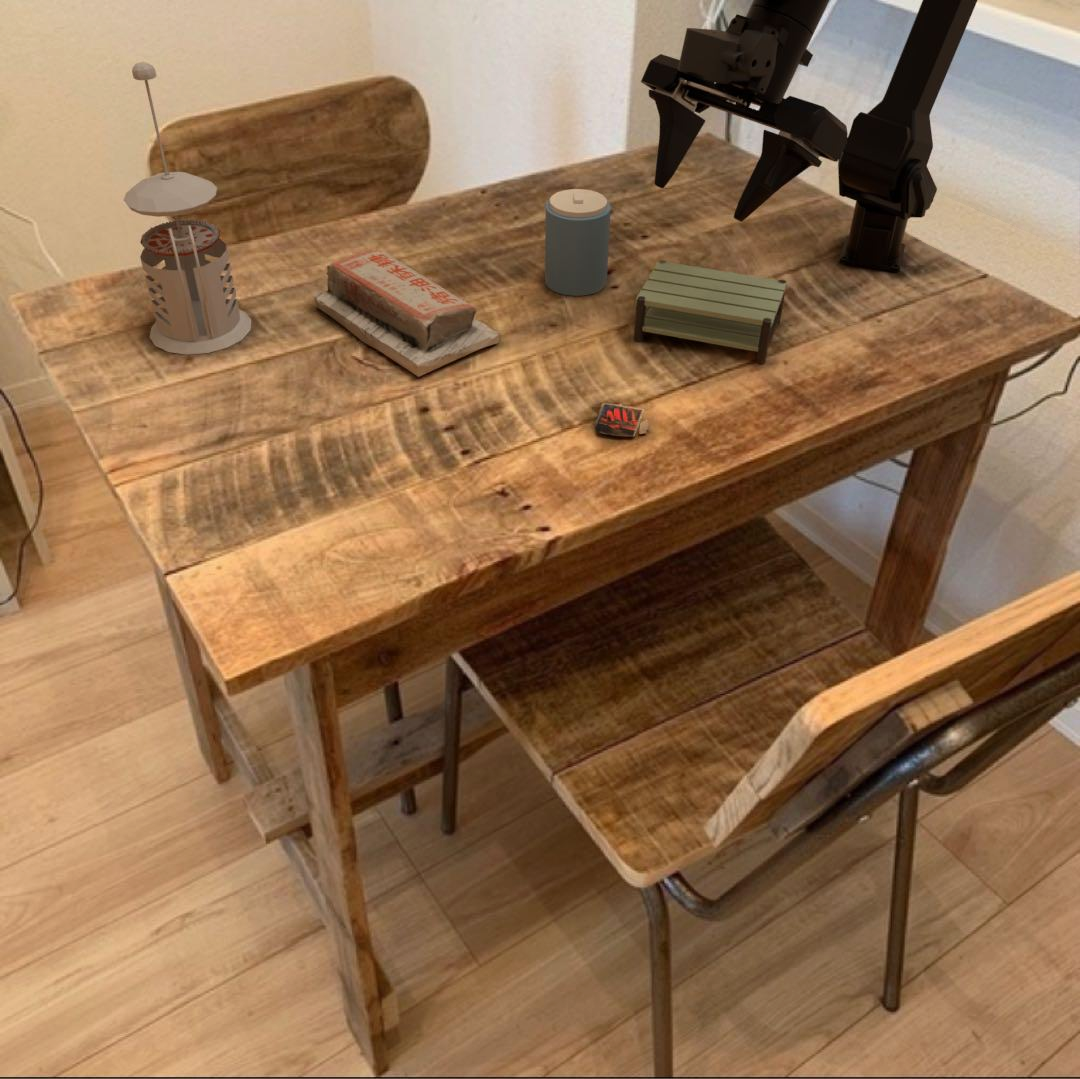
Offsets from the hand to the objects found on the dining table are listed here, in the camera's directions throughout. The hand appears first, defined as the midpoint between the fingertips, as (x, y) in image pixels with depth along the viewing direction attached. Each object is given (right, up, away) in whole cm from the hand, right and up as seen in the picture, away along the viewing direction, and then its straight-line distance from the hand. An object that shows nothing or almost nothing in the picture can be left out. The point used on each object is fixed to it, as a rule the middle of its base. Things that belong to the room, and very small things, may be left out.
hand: (696, 202), depth 93 cm
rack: (+3, -9, +13) cm, 16 cm away
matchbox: (-6, -19, 0) cm, 20 cm away
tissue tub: (-10, -2, +20) cm, 23 cm away
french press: (-47, -9, +12) cm, 49 cm away
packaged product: (-27, -8, +13) cm, 31 cm away
